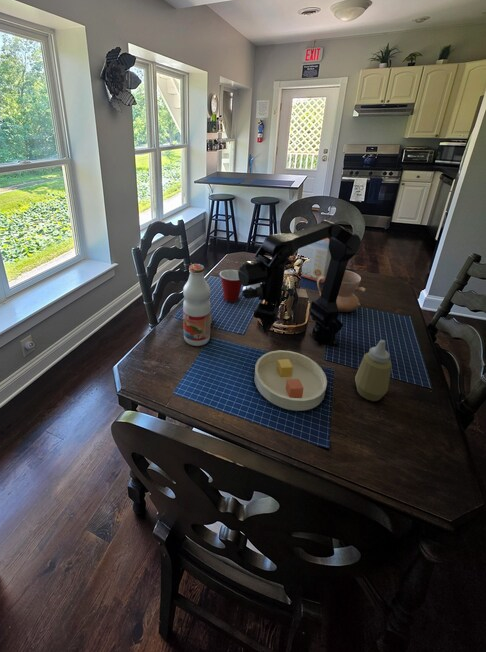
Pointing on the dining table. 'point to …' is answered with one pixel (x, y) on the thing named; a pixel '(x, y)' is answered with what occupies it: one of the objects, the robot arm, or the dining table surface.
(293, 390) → the terracotta block
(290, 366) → the mustard block
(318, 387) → the bowl
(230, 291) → the plastic cup
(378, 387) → the squeeze bottle
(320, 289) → the ceramic jug
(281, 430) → the dining table surface
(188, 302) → the fruit juice
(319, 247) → the cracker box
